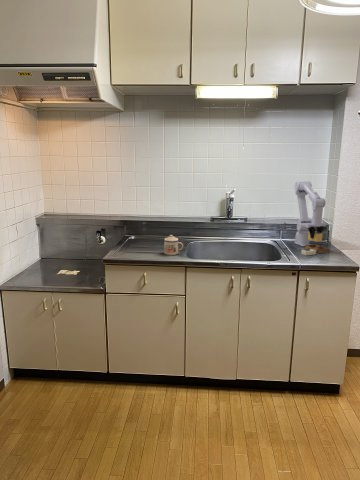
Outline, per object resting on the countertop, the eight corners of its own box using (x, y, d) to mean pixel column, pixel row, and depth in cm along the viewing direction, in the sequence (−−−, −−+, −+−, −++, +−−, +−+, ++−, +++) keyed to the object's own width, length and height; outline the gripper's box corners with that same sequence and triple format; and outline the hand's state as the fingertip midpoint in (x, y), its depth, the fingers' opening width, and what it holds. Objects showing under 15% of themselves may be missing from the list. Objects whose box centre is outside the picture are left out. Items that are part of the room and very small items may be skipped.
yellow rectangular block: (307, 238, 241) (307, 230, 240) (312, 238, 243) (313, 230, 242) (316, 241, 234) (317, 233, 232) (321, 241, 235) (322, 233, 234)
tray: (304, 248, 244) (304, 245, 243) (315, 247, 247) (315, 244, 246) (317, 253, 232) (317, 250, 232) (328, 252, 236) (329, 248, 235)
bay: (301, 253, 231) (301, 249, 231) (310, 252, 234) (311, 248, 234) (305, 255, 228) (306, 251, 227) (315, 254, 230) (315, 250, 230)
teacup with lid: (162, 254, 225) (162, 236, 222) (165, 251, 234) (165, 233, 231) (181, 255, 223) (182, 237, 221) (183, 251, 232) (184, 234, 229)
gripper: (312, 219, 228) (310, 240, 231) (330, 217, 233) (328, 238, 236) (304, 217, 234) (302, 237, 238) (322, 215, 239) (320, 236, 243)
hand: (315, 237), depth 237 cm, fingers closed on yellow rectangular block, 4 cm apart
